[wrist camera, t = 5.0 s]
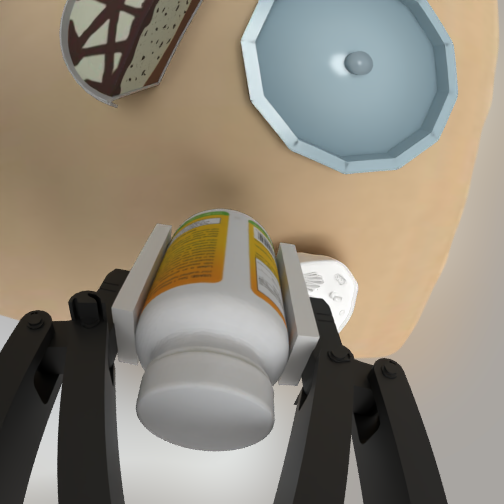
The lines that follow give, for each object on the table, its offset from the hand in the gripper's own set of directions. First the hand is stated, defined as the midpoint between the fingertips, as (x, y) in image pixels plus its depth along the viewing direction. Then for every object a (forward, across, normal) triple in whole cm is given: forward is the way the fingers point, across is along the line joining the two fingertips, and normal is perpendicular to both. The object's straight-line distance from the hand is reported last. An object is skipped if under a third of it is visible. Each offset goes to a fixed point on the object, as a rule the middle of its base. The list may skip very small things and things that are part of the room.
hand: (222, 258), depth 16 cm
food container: (+13, -9, +13) cm, 21 cm away
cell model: (+13, +8, -9) cm, 18 cm away
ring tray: (+13, +8, +13) cm, 20 cm away
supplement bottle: (+1, 0, 0) cm, 1 cm away
